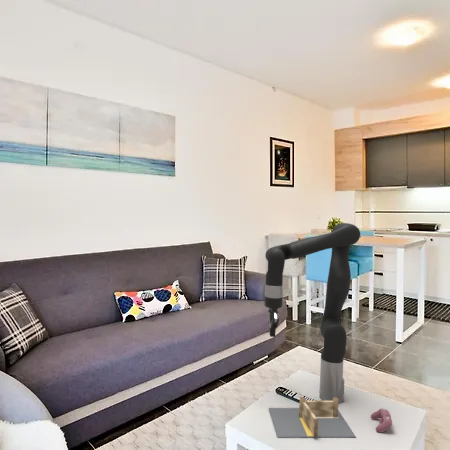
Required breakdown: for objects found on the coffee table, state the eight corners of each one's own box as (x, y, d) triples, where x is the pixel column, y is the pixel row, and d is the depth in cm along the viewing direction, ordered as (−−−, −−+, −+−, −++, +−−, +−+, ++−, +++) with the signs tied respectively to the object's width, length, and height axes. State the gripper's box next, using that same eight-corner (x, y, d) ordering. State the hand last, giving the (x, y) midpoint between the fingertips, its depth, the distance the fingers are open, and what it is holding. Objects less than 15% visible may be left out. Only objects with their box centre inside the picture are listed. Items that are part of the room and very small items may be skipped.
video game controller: (386, 438, 130) (396, 422, 129) (374, 431, 131) (384, 415, 130) (380, 422, 140) (389, 408, 139) (369, 416, 140) (378, 401, 140)
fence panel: (301, 417, 138) (302, 402, 137) (304, 417, 138) (305, 402, 138) (314, 437, 126) (315, 420, 125) (318, 437, 126) (318, 420, 125)
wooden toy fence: (336, 415, 141) (337, 397, 141) (338, 419, 139) (339, 400, 138) (298, 415, 140) (299, 396, 140) (299, 419, 138) (300, 399, 138)
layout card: (337, 408, 146) (337, 407, 146) (355, 437, 127) (355, 436, 127) (268, 408, 145) (268, 407, 145) (277, 437, 126) (277, 436, 126)
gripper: (286, 299, 144) (284, 341, 145) (279, 291, 157) (277, 331, 158) (267, 299, 144) (266, 341, 144) (262, 291, 157) (260, 330, 158)
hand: (272, 336), depth 151 cm, fingers closed
